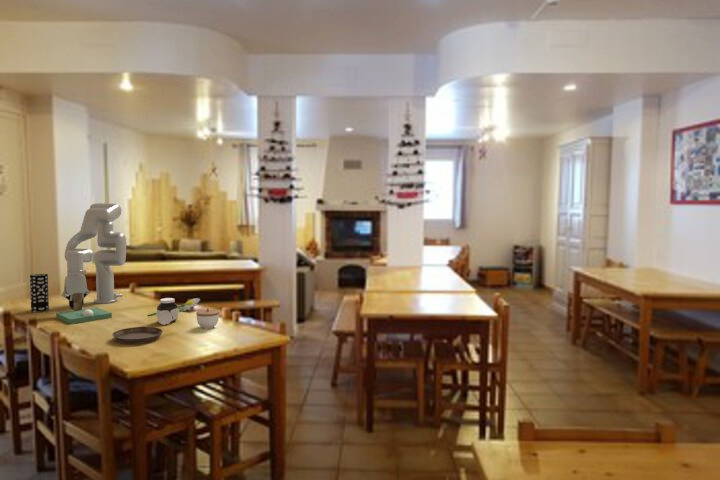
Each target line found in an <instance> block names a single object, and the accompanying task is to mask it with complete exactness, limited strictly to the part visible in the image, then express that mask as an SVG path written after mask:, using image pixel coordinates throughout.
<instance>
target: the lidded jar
mask: <svg viewBox="0 0 720 480" xmlns="http://www.w3.org/2000/svg"><path fill="white" fill-rule="evenodd" d="M195 314H196V321H197V324H198V325H199V326H200V328H201V327H202V328H201V329H204V328H210V329H214V328H215V326H217V324H218V322H219V316H220V311H219V310H218V309H209V308H206V309H201V310H198V311H196V313H195ZM213 327H214V328H213Z"/></svg>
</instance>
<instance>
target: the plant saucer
mask: <svg viewBox="0 0 720 480" xmlns="http://www.w3.org/2000/svg"><path fill="white" fill-rule="evenodd" d="M163 331H164V330H162V329H161V328H159V327H153V326H134V327H127V328H122V329H118V330H115V331H114V332H113V333H112V335H111V336H112V337H113V338H114V339H115V340H116V341H117V342H119V343H121V344H127V345H128V344H129V345H137V344H138V343H139V344H145V342H146V343H149V342H153V341H155V339H156V340H157V339H159V337H161V335H162V333H163Z"/></svg>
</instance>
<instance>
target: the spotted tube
mask: <svg viewBox="0 0 720 480" xmlns="http://www.w3.org/2000/svg"><path fill="white" fill-rule="evenodd" d="M29 286H30V287H29V290H30V311H31V312H33V313H40V312H41V313H42V312H46V311H49V310H50V304H49V303H50V302H49V301H50V300H49V299H50V298H49V274H48V273H35V274H34V273H33V274H30V275H29Z"/></svg>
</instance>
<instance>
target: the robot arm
mask: <svg viewBox="0 0 720 480" xmlns="http://www.w3.org/2000/svg"><path fill="white" fill-rule="evenodd" d="M121 215H122V207H121V205H120V204H118V203H107V202H101V203H100V202H99V203H98V202H97V203H92V204H91V205H89V208H88V209H86V211H85V213H84V216H83V219H82V223H81V227H80V230H79V231H78V232H77V233H76V234H74V235H73V236H72V237H71V238H70V239H69V240H68V242H67V244H66V247H65V251H64V260H65V261H66V268H67V269H66V272H67V276H65V279H64V288H63V292H62V294H61V297H63V298H65V299H67V300H68V306H69V307H70V309H71V308H74V305H73V295H74V294H76V293H82V308H83V307H84V303H85V302H84V299H86V297H87V296H88V295H90V293H91V291H90V290H89V288H88V285H87V279H86V278H87V277H86V275H85V273H87V270H85V269H84V263H91V262H92V261H93V262H94V265H95V278H96V279H95V280H96V282H95V283H96V286H95V288H96V299H94V300H93V303H94V304H111V303H114V302H117V301H118V298H121V297H123V293H115V284H114V283H115V280H114V279H115V278H114V276H115V274H114V273H115V272H114V270H113V268H112V267H115V266H116V267H121V266H124V265H125V263H126V260H127V238H126V235H125V234H124V233H123V232H114V223H113V222H114V221H115V220H117V219H118V218H120V216H121ZM95 237H97V240H96V241H97V246H98V247H100V248H102V250H101V249H100V250H97V251H95V253H94V251H93V250H92V249H90V248H77V246H79V245H80V244H82V243H83V242H86V241H87V240H90V239H91V240H92V239H93V238H95ZM104 248H105V249H104ZM111 249H112V250H111ZM113 249H114V250H113ZM111 266H112V267H111Z"/></svg>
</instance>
